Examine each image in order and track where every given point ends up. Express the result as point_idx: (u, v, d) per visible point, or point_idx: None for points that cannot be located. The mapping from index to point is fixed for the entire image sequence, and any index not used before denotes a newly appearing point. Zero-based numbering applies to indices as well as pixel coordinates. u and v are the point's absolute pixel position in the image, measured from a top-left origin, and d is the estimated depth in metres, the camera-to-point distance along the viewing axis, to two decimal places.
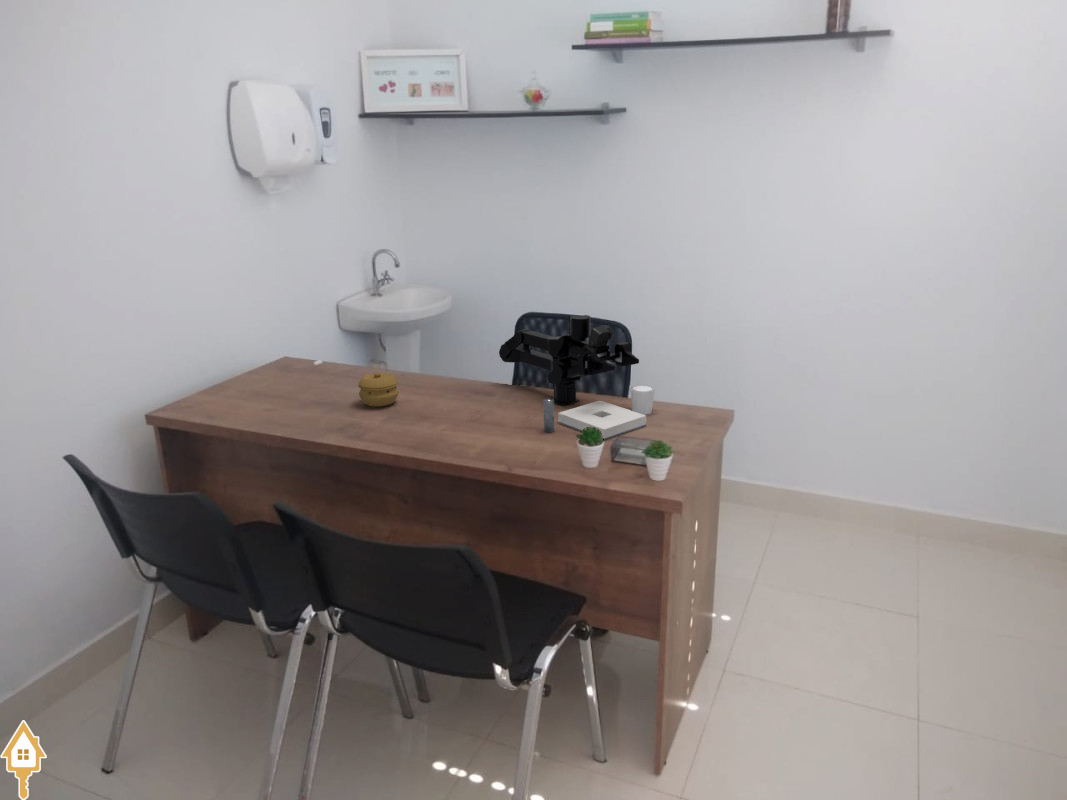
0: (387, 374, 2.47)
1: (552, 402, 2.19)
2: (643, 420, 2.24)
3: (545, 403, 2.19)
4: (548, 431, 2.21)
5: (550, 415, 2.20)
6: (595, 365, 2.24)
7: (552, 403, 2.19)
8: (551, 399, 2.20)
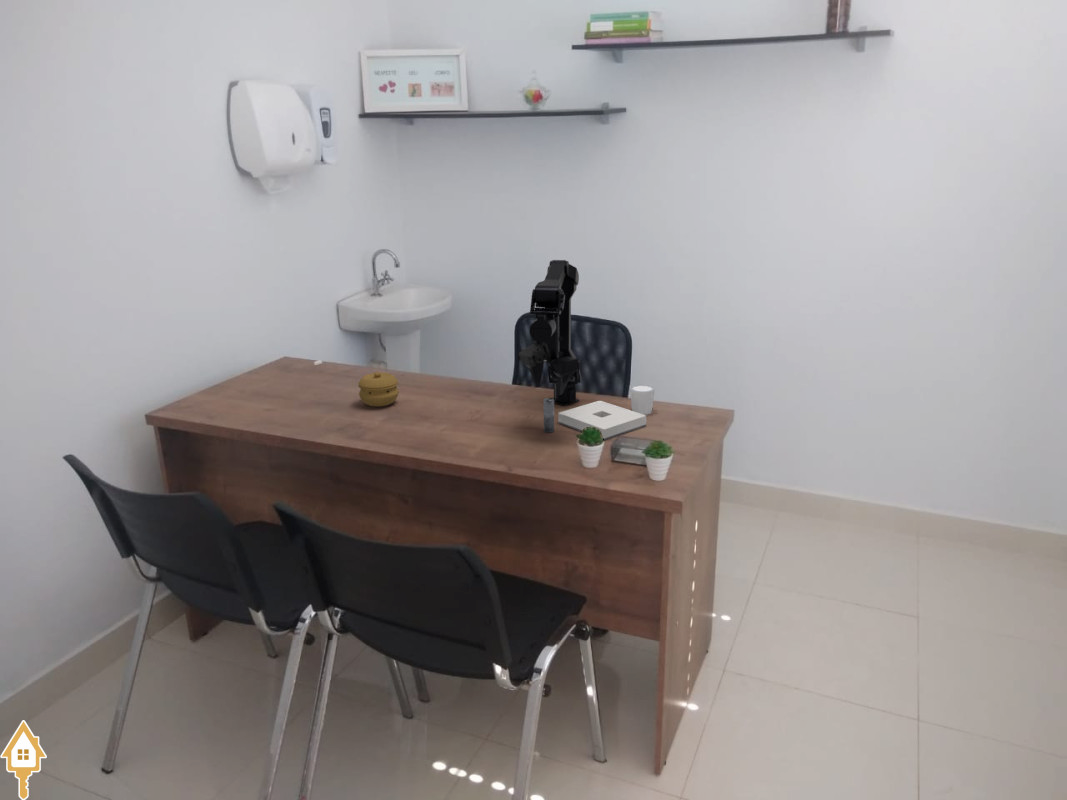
0: (387, 374, 2.47)
1: (552, 402, 2.19)
2: (643, 420, 2.24)
3: (545, 403, 2.19)
4: (548, 431, 2.21)
5: (550, 415, 2.20)
6: None
7: (552, 403, 2.19)
8: (551, 399, 2.20)
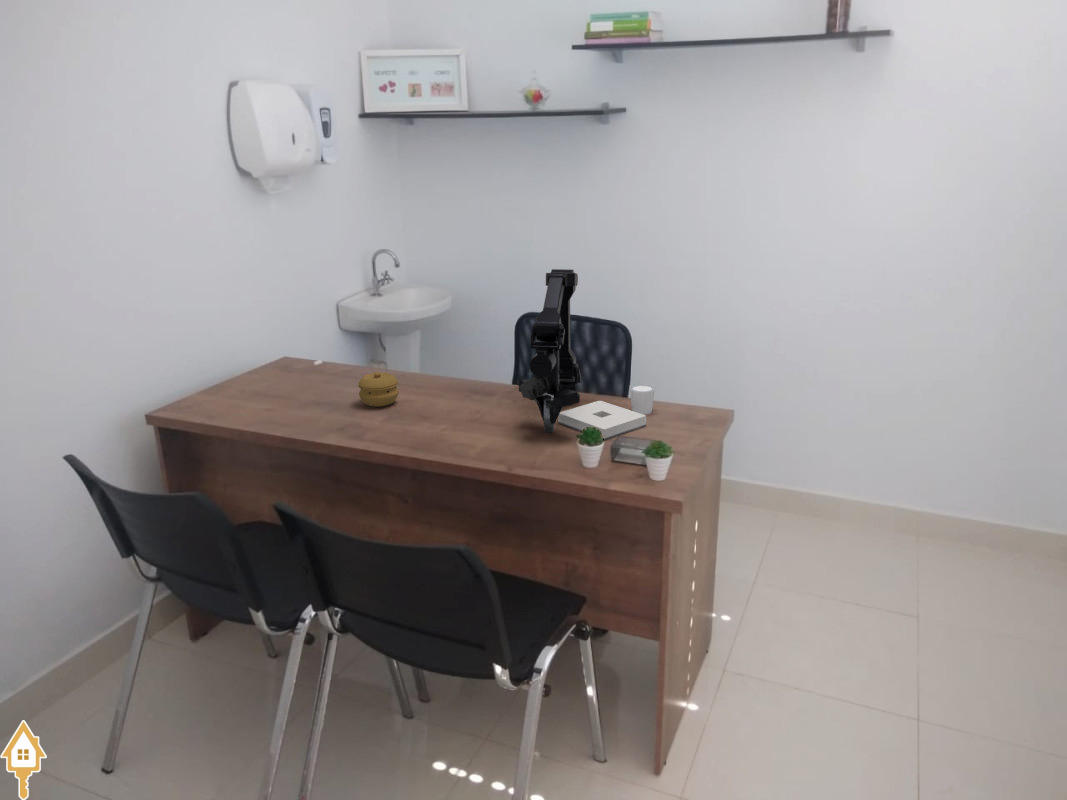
0: (387, 374, 2.47)
1: None
2: (643, 420, 2.24)
3: (545, 403, 2.19)
4: (548, 431, 2.21)
5: None
6: None
7: None
8: None
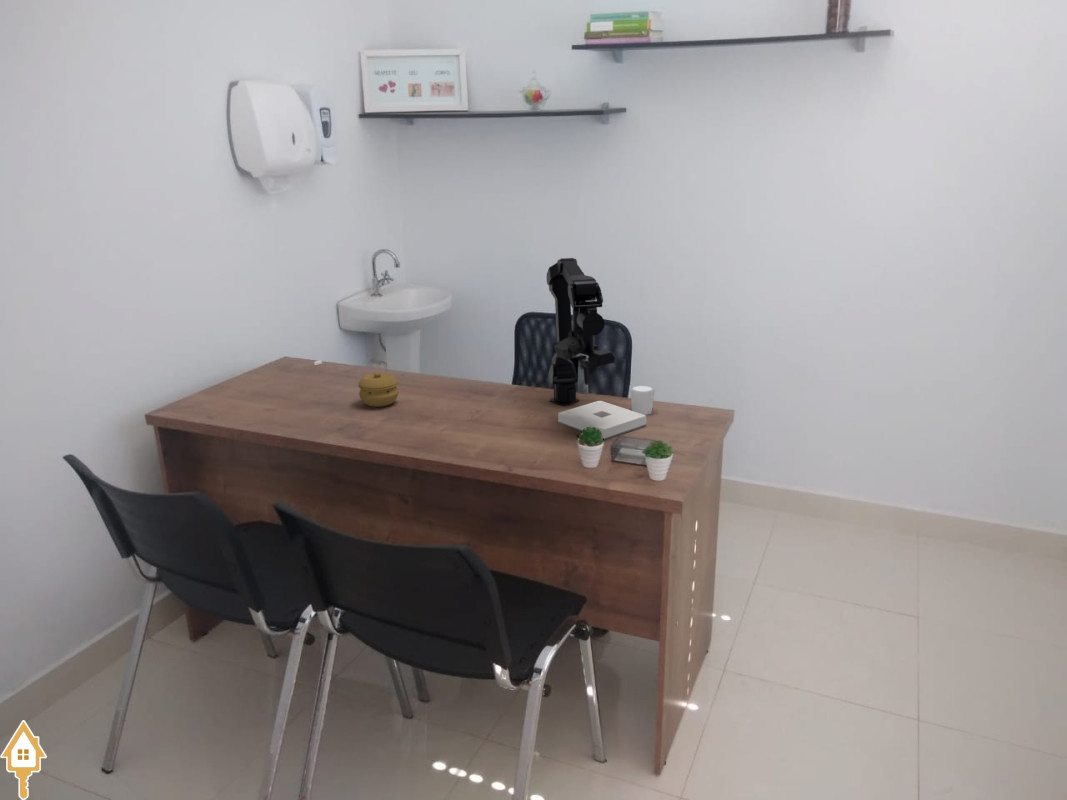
0: (387, 374, 2.47)
1: None
2: (643, 420, 2.24)
3: (579, 363, 2.19)
4: (582, 392, 2.21)
5: (584, 376, 2.19)
6: None
7: None
8: None
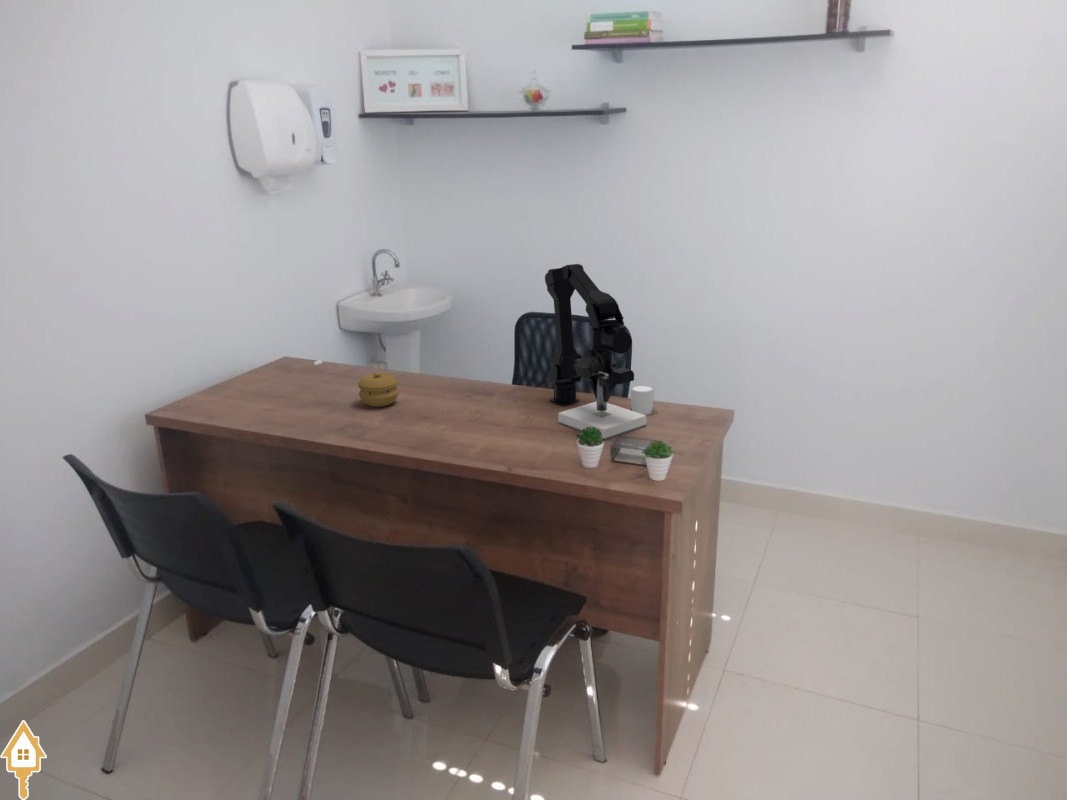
0: (387, 374, 2.47)
1: None
2: (643, 420, 2.24)
3: (598, 381, 2.22)
4: (601, 409, 2.24)
5: None
6: None
7: None
8: (604, 377, 2.22)
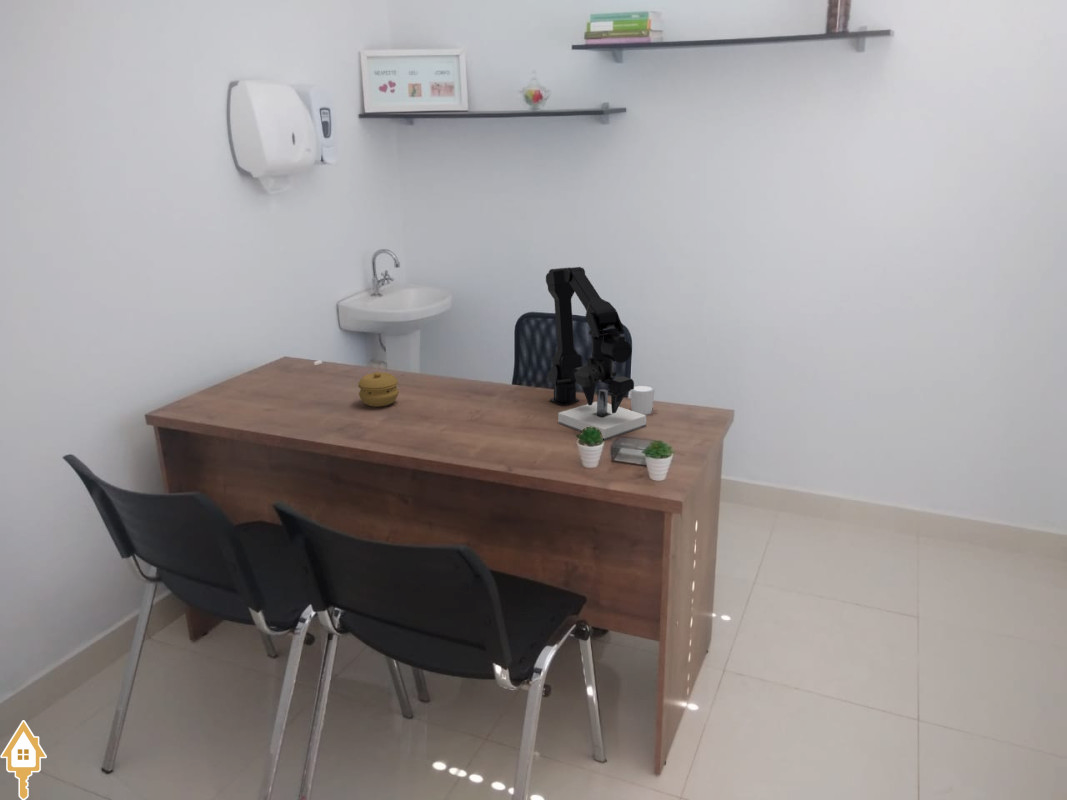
0: (387, 374, 2.47)
1: (606, 393, 2.23)
2: (643, 420, 2.24)
3: (599, 394, 2.23)
4: None
5: (604, 406, 2.24)
6: None
7: (606, 394, 2.23)
8: (605, 390, 2.24)
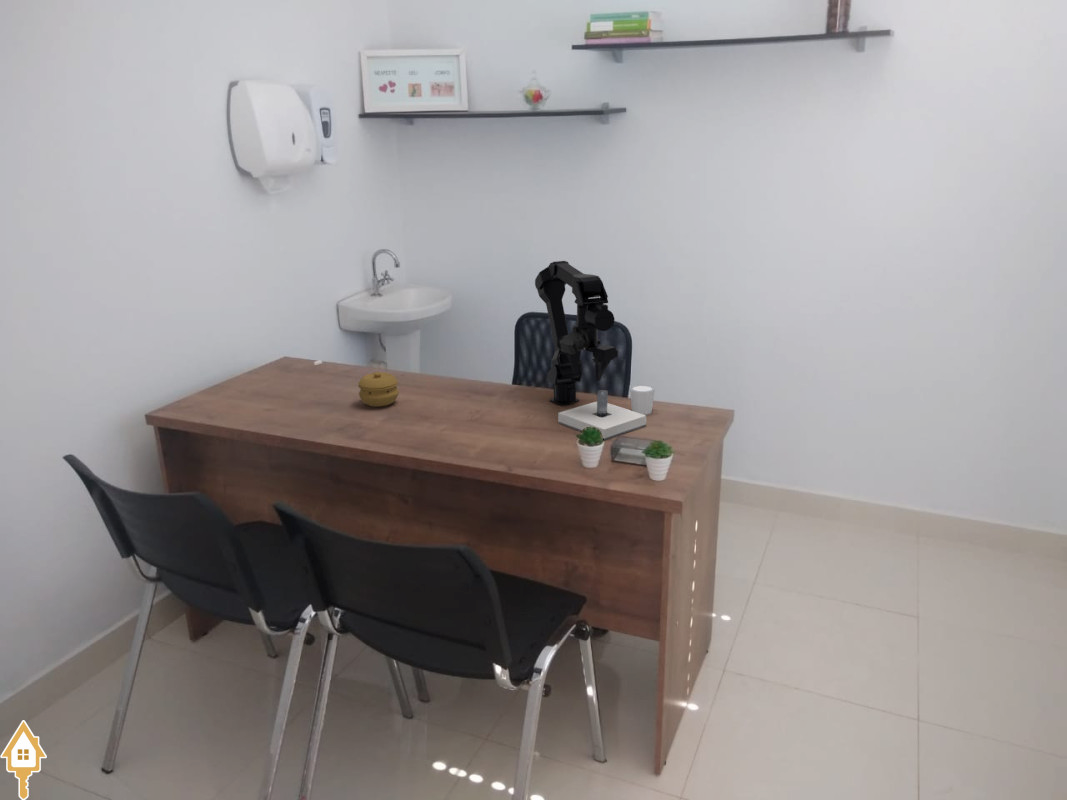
0: (387, 374, 2.47)
1: (606, 394, 2.23)
2: (643, 420, 2.24)
3: (599, 395, 2.23)
4: None
5: (603, 407, 2.24)
6: None
7: (606, 395, 2.23)
8: (605, 391, 2.23)
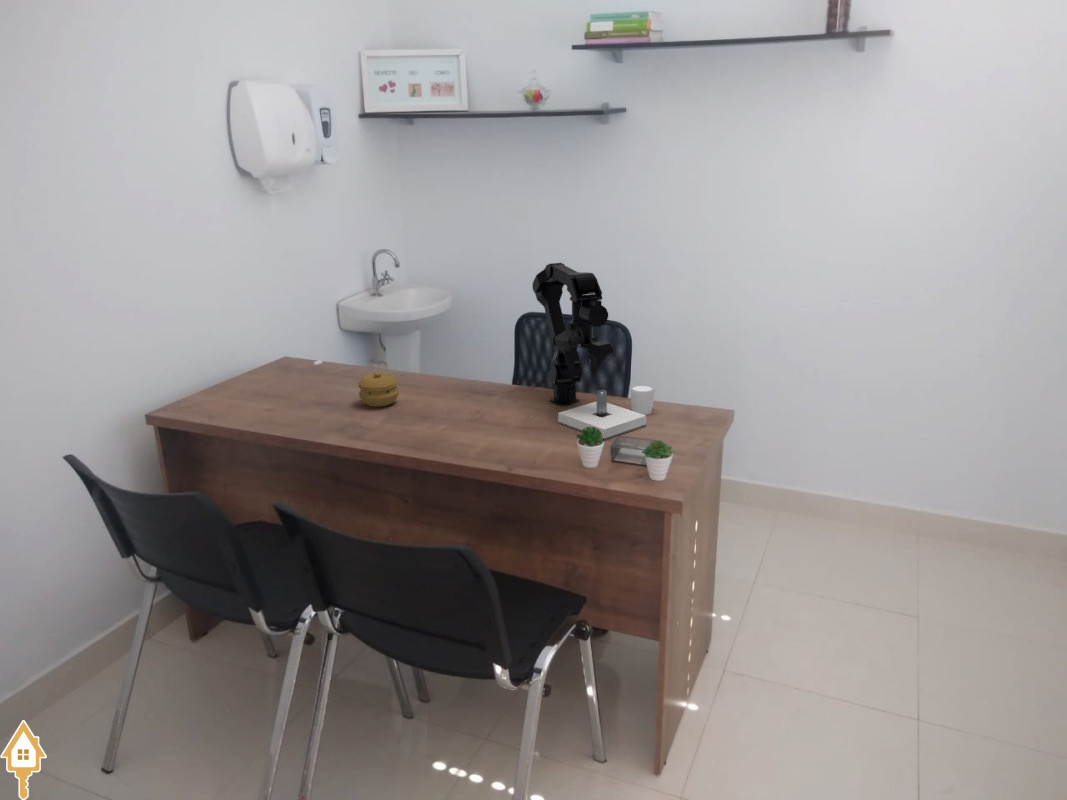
0: (387, 374, 2.47)
1: (605, 394, 2.23)
2: (643, 420, 2.24)
3: (598, 395, 2.23)
4: None
5: (603, 407, 2.24)
6: None
7: (605, 395, 2.23)
8: (604, 391, 2.24)
